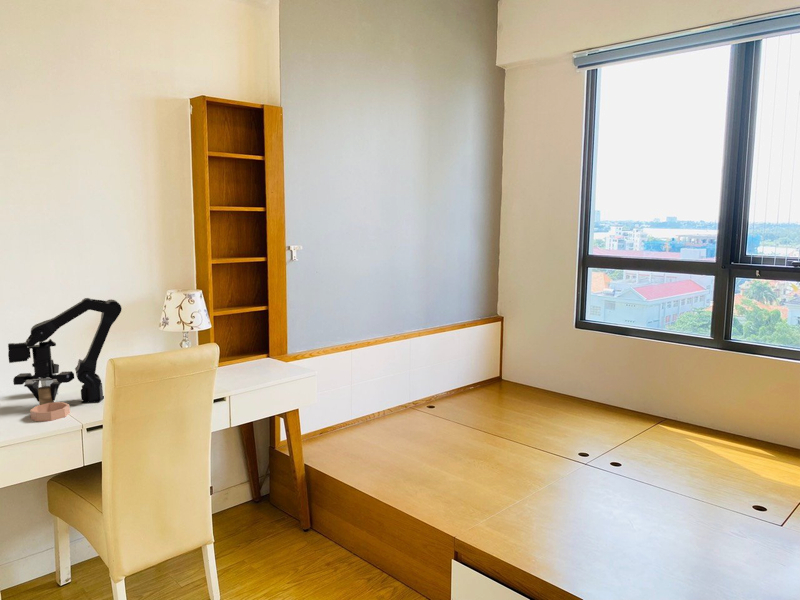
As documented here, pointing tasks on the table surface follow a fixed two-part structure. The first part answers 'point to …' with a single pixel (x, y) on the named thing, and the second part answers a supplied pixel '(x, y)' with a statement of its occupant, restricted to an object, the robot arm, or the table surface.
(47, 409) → the pink octagonal ring
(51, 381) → the skincare box
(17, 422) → the table surface
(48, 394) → the oak tube
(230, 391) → the table surface
